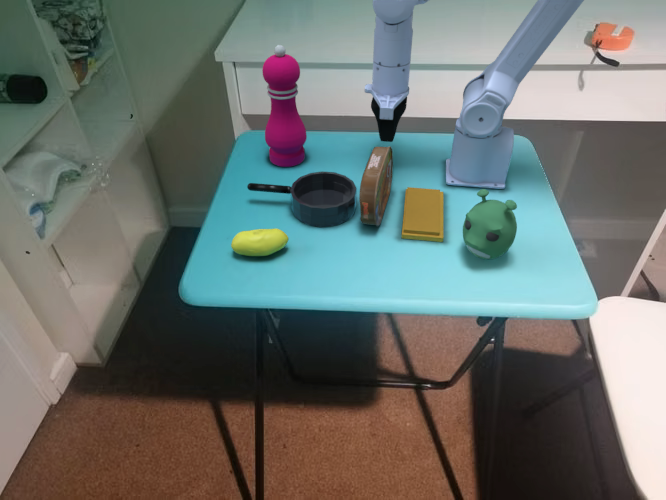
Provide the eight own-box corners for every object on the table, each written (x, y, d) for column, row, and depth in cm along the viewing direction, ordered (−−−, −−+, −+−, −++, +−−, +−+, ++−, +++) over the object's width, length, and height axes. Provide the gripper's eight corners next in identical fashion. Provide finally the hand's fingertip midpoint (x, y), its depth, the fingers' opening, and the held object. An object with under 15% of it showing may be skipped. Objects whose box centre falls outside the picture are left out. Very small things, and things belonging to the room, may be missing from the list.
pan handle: (293, 191, 84) (293, 184, 83) (291, 195, 83) (291, 189, 83) (248, 187, 85) (248, 181, 84) (246, 191, 84) (245, 185, 83)
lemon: (233, 244, 78) (230, 222, 75) (289, 241, 78) (287, 219, 76) (231, 263, 75) (228, 241, 72) (289, 260, 75) (287, 238, 72)
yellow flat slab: (442, 195, 87) (443, 188, 86) (442, 242, 78) (444, 234, 77) (405, 192, 88) (406, 185, 87) (401, 238, 78) (402, 230, 78)
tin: (376, 237, 79) (379, 189, 73) (355, 234, 79) (356, 186, 74) (393, 182, 90) (396, 137, 84) (375, 180, 90) (377, 135, 85)
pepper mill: (315, 154, 97) (311, 42, 84) (292, 172, 92) (285, 57, 80) (282, 144, 100) (274, 34, 87) (258, 161, 95) (246, 48, 82)
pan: (359, 192, 88) (359, 174, 85) (351, 229, 80) (351, 210, 78) (299, 187, 89) (298, 169, 87) (285, 223, 81) (284, 204, 79)
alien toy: (445, 256, 75) (455, 197, 69) (476, 231, 80) (488, 174, 73) (489, 280, 72) (503, 220, 65) (519, 253, 76) (535, 194, 69)
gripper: (370, 42, 88) (367, 118, 97) (360, 77, 77) (358, 159, 86) (413, 44, 88) (406, 121, 96) (410, 80, 77) (402, 162, 85)
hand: (386, 139), depth 91 cm, fingers closed
